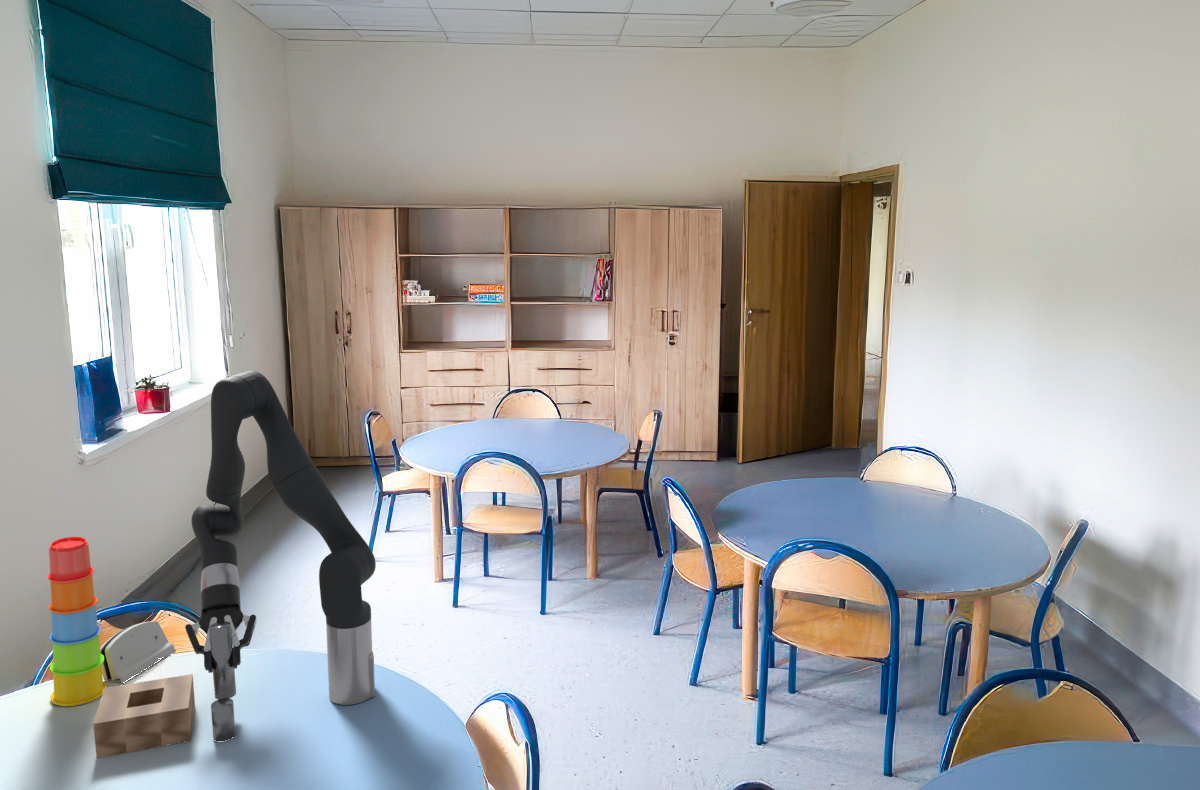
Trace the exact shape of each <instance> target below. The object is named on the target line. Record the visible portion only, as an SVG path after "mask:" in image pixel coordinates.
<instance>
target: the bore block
mask: <svg viewBox="0 0 1200 790" xmlns="http://www.w3.org/2000/svg"><path fill="white" fill-rule="evenodd" d="M194 688H195V687H194V675H193V673H191V674H190V673H189V674H185V675H179V676H178V675H177V676H172V677H164V678H158V679H152V680H145V681H140V682H132V683H125V684H121V685H115V686H107V687H106V688H105V689H104V692H103V695H102V696H101V699H100V702H99V705H98V708H97V711H96V714H95V718H94V721H93V724H92V725H93V734H94V736H93V737H94V744H95V745H94V746H95V756H96V757H95V758H96V759H99V758H104V757H105V758H106V757H109V756H111V757H112V756H116V755H121V754H126V753H132V751H133V752H138V751H143V749H144V750H149V749H153V747H155V748H159V747H158V746H160V747H164V746H163V745H166V746H168V745H167V744H171V745H175V744H174V743H177V744H179V743H178V742H182V743H185V742H184V741H188V742H191V741H192V735H191V734H192V733H193V726H192V725H193V724H194V717H193V716H195V707H196V703H195V701H196V700H195V689H194ZM190 740H191V741H190Z"/></svg>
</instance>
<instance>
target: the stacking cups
mask: <svg viewBox="0 0 1200 790" xmlns="http://www.w3.org/2000/svg"><path fill="white" fill-rule="evenodd" d="M89 547H90V546H89V542H88V540H87V539H86V538H85V537H82V536H68V537H63V538H59V539H56V540H54V541H52V542H51V543H50V546H49V547H48V556H49V572H50V573H49V574H48V575H47V579H48V580H49V581H50V599H51V600H50V601H51V603H50V604H49V605H48V610H49V611H50V612H51V627H52V629H51V631H52V633H50V635H49V640H50V642H51V643H52V657H53V658H52V661H53V662H52V663H50V666H49V671H50V672H51V673H52V675H53V679H52V680H53V691H52V693H51V695H50V701H51V703H52V704H53V705H56V706H59V707H75V706H77V707H78V706H81V705H85V704H88V703H91V702H93V701H94V702H95V699H96V700H97V699H99V698H100V696H101V697H102V695H103V692H104V689H105V688H106V687H108V686H107V684H106V683H107V682H105V681H104V679H103V675H102V663H103V662H104V656H103V655H102V654H101V653H100V648H101V646H100V633H101V631H102V629H101V626H100V625H98V619H97V617H98V616H97V605H96V604H97V603H98V601H99V599H98V597H97V596H95V590H94V580H93V577H94V576H93V573H94V568H93V567H92V566H91V557H90V556H91V555H90V548H89Z"/></svg>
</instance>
